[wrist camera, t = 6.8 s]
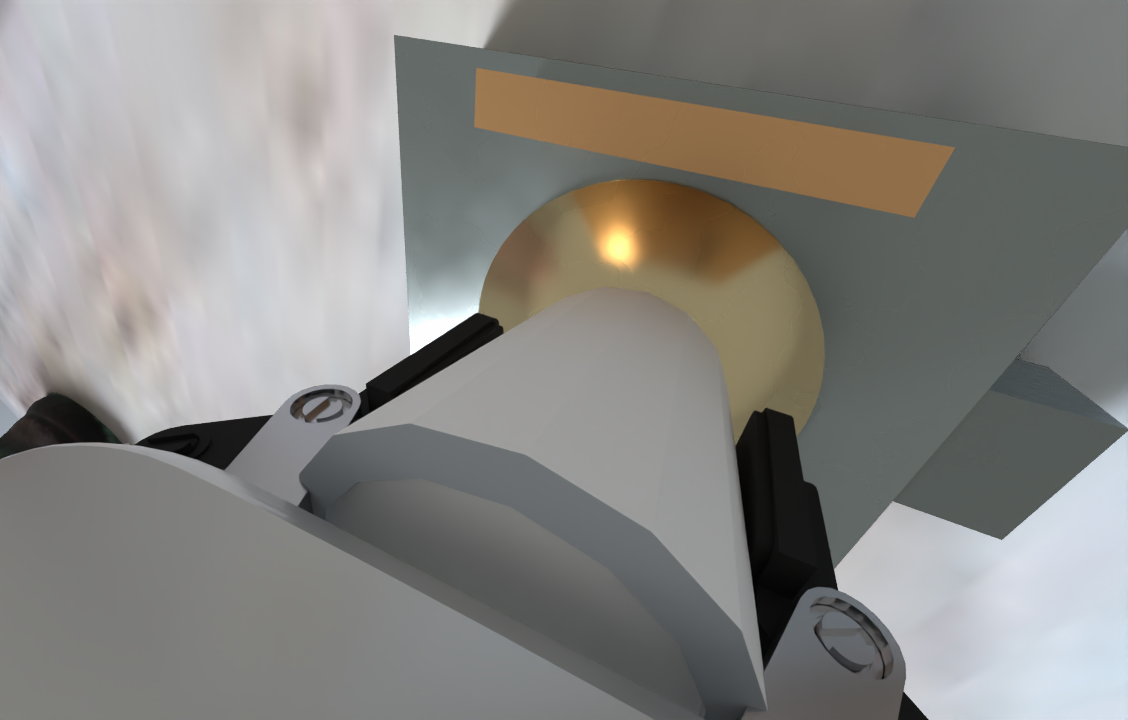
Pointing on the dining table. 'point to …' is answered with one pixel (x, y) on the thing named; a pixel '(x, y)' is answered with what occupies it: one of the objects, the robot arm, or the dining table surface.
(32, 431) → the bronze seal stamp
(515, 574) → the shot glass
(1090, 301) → the dining table surface
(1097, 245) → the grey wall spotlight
